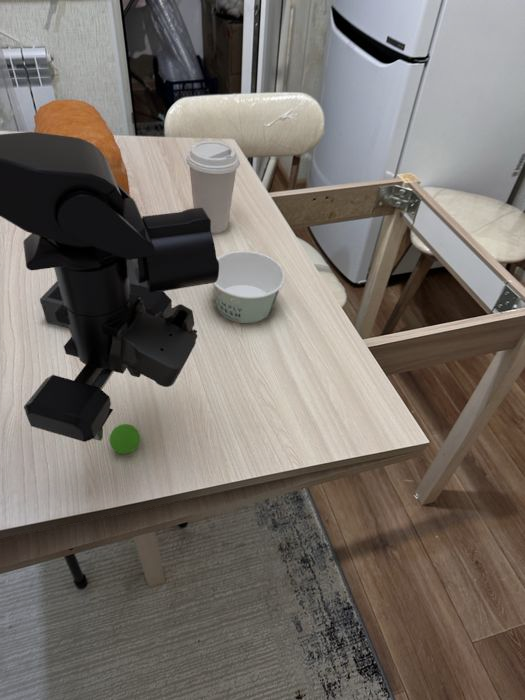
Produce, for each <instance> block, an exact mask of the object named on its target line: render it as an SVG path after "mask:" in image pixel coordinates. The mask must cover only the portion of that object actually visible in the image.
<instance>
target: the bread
mask: <svg viewBox="0 0 525 700" xmlns="http://www.w3.org/2000/svg"><path fill="white" fill-rule="evenodd" d="M33 119H34V130H33V132H36V133H44V134H52V135H60V136H68V137H75V138H80V139H83V140H85V141H88V142H90V143H92V144H93V145H94V146H96V147H97V148H98V149H99V150H100V151H101V153H102V154H103V155H104V157H105V158H106V160H107V162H108V163H109V165H110V168H111V170H112V173H113V175H114V178H115V181H116V183H117V184H118V185H119V186H120V187H121V188H122V189H123V190H124V191H125V192H126V193H127V194H128V195H129V196H130V197H131V192H130V183H129V175H128V171H127V167H126V164H125V162H124V160H123V159H124V158H123V157H122V152H121V149H120V147H119V145H118V144H117V142H116V140H115V137H114V134H113V132H112V131H111V130H110V127H109V126H108V124H107V122H106V120H105V119H104V118H103V117H102V116H101V114H100V112H99V111H98V110H97V108H95V106H93V105H91V104H90V103H88V102H86V101H83V100H78V99H59V100H57V99H56V100H51V101H49V102H47V103H45V104H43V105H42V106H39V108H38V109H37V111H36V112H35V114H34V116H33Z"/></svg>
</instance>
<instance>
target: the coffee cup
mask: <svg viewBox="0 0 525 700" xmlns="http://www.w3.org/2000/svg"><path fill="white" fill-rule="evenodd" d="M185 161H186V164H187V165H188V167H189V175H190V176H189V177H190V185H191V186H190V187H191V195H192V207H193V209H194V208H203V209H204V210H205V211H206V213H207V215H208V217H209V218H210V220H211V233H212V235H216V234H220V233H223V232H225V231H227V229H228V228H229V222H230V216H231V215H230V214H231V207H232V201H233V193H234V187H235V181H236V180H235V179H236V175H237V174H236V173H237V170H238V169H239V168H240V165H241V164H240V158H239V156H238V154H237V151H236V149H235V147H233V146H232V145H230V144H229V143H226V142H223V141H218V140H201V141H198V142H195V143H193V144H192V146H191V147H190V150H189V152H188V153H187V155H186V159H185Z"/></svg>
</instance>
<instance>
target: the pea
mask: <svg viewBox="0 0 525 700" xmlns="http://www.w3.org/2000/svg"><path fill="white" fill-rule="evenodd" d="M140 440H141V436H140V433H139V430H138V429H137V428H136V427H135V426H134V425H133V424H130V423H122V424H119V425H117V426H115V427H114V428H113V429H112V430H111V432H110V435H109V444H110V447H111V449H112V450H113V451H115V452H116V453H119V454H122V455H123V454H129V453H132V452H133V451H135V450H136V449H137V447H138V446H139V445H140Z"/></svg>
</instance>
